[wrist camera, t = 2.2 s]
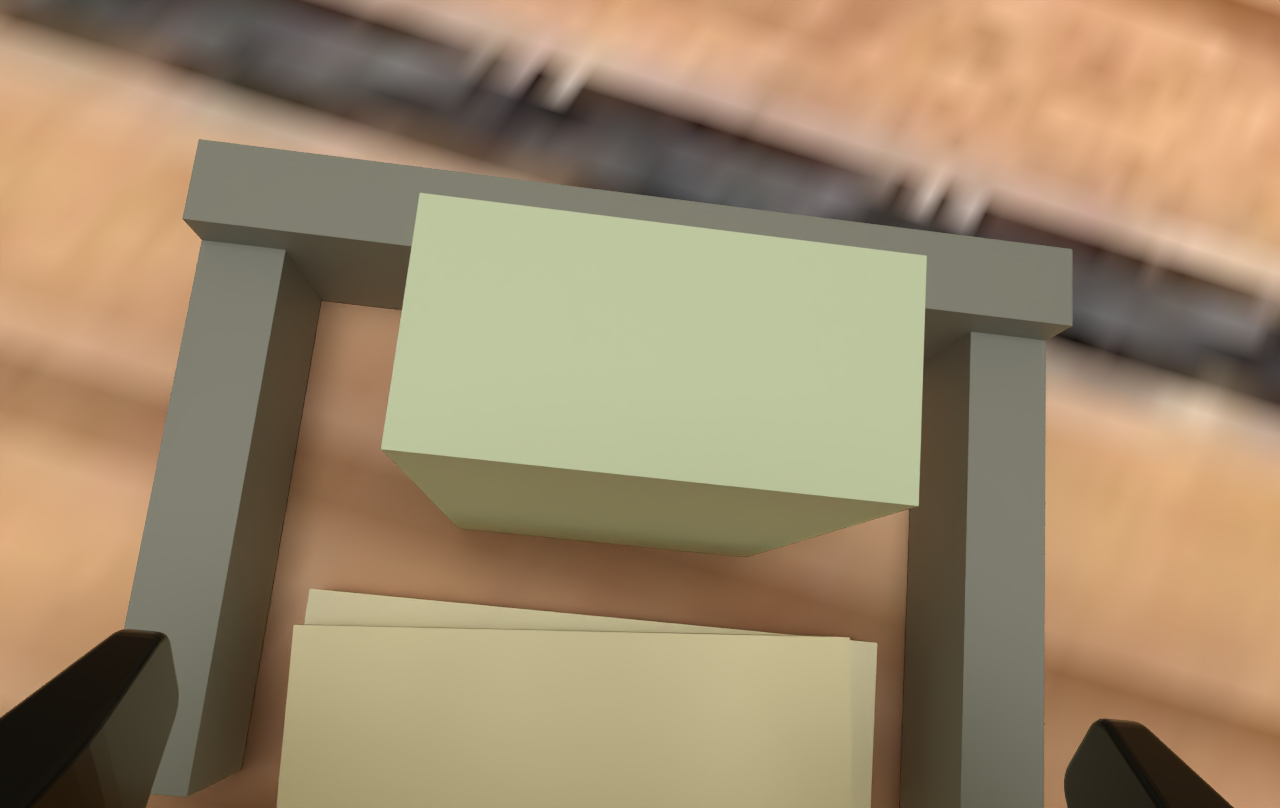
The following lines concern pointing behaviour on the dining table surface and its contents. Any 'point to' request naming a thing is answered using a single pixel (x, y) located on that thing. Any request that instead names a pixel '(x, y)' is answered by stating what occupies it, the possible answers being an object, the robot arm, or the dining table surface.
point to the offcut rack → (572, 643)
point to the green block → (654, 379)
